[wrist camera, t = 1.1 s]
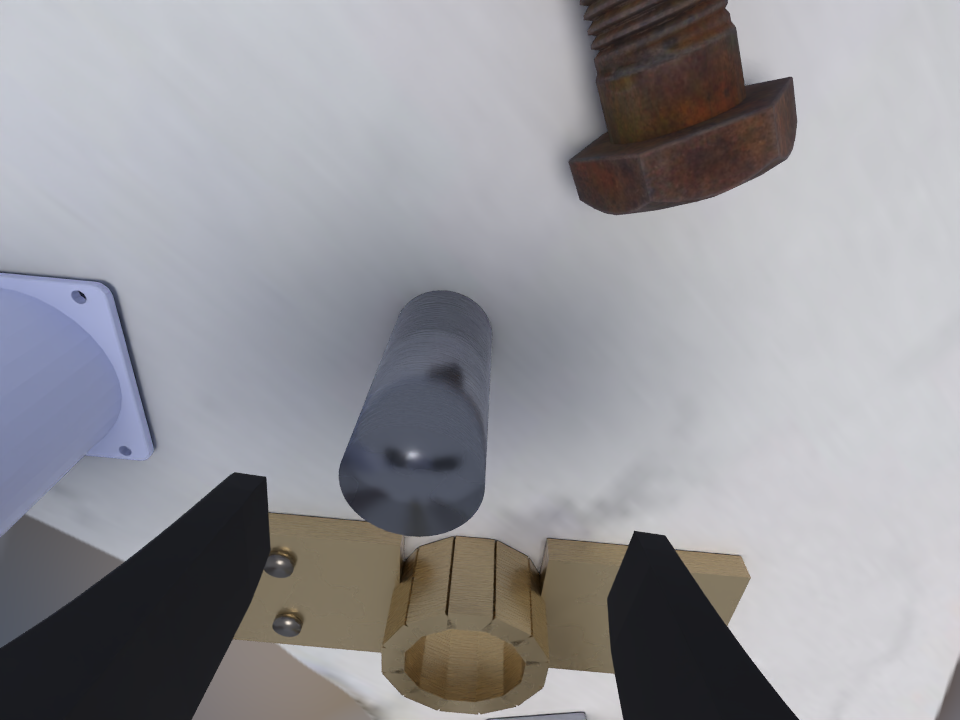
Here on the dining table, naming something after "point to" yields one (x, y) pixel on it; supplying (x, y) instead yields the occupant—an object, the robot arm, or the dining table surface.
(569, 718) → the coffee box
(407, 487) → the hinge pin
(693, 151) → the bolt
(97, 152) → the dining table surface
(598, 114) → the dining table surface
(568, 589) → the hinge
